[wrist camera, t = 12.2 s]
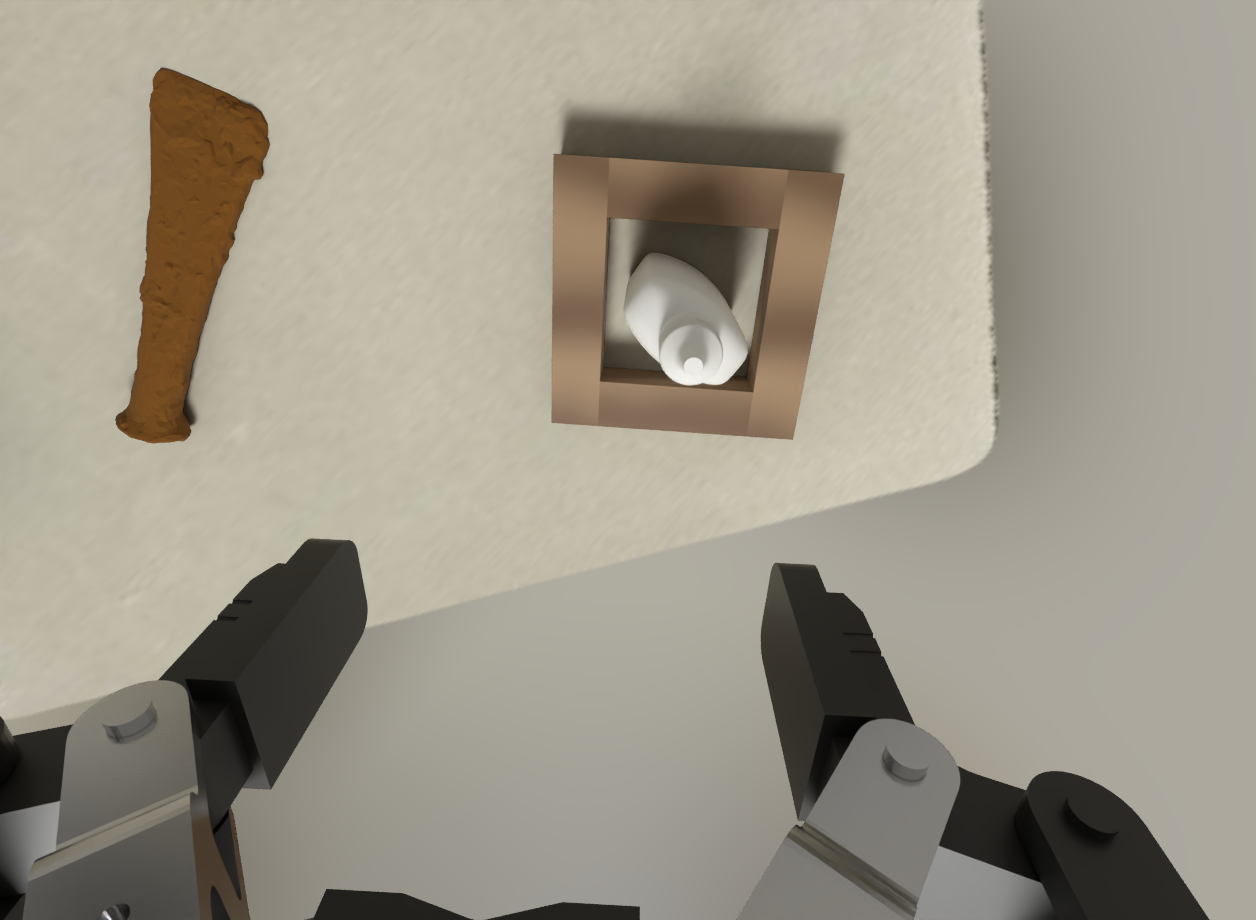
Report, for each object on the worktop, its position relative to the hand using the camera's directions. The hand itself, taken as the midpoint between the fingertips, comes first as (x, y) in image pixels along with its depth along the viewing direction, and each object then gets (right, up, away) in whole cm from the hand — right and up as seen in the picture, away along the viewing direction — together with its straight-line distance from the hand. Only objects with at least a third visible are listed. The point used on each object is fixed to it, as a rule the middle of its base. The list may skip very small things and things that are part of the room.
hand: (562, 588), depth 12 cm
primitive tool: (-22, +13, +22) cm, 34 cm away
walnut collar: (+4, +11, +21) cm, 24 cm away
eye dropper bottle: (+4, +11, +21) cm, 24 cm away
